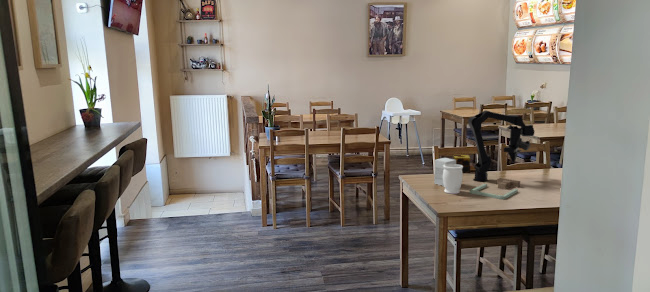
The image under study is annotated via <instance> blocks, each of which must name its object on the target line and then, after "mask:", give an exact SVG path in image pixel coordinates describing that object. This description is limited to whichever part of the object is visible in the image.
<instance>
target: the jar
mask: <svg viewBox="0 0 650 292" xmlns="http://www.w3.org/2000/svg"><path fill="white" fill-rule="evenodd" d="M443 168H444V170H443V184H444V186H443V187H444V192H445V194H452V195H453V194H454V195H456V194H459V193H460V192H461V190H460V189H461V187H462V182H463V176H464V175H463V174H464V173H462V168H463V166H462V165H458V164H445V165H443Z"/></svg>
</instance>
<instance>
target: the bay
mask: <svg viewBox="0 0 650 292" xmlns="http://www.w3.org/2000/svg"><path fill="white" fill-rule="evenodd" d="M487 187H488V183H484V184H480V185H478V186H476V187H474V188H473V189H470V190H469V194H471V195H472V194H473V195H478V196H483V197H487V198H494V199H499V200H503V201H504V200H506V199H507V198H509V197H512V196H513V195H515V194H517V193H518V192H519V191H518V188H514V189H512V190H510V191H507V193H505V194H502V195H499V194H494V193H490V192H489V193H488V192H486V191H485V192H483V191H481V190H482V189H486V188H487Z"/></svg>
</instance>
